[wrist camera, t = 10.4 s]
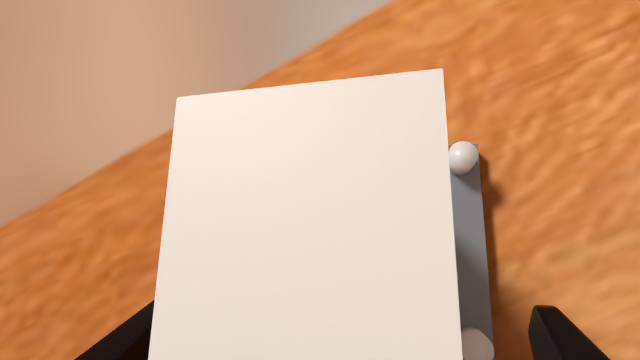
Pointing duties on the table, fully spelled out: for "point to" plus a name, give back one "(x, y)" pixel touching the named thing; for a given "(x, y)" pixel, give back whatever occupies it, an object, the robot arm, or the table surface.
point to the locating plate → (471, 252)
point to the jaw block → (310, 225)
